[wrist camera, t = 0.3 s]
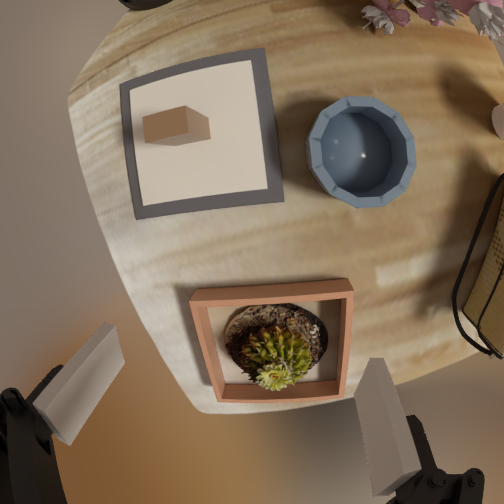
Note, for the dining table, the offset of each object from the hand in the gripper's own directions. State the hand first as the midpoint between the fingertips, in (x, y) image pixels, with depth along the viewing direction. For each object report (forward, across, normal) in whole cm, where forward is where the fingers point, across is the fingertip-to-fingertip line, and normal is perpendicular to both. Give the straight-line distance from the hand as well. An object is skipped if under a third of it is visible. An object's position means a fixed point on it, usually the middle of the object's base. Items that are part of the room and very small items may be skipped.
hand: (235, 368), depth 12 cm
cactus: (+27, +3, -19) cm, 33 cm away
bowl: (+27, +11, +12) cm, 31 cm away
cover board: (+26, -11, +13) cm, 31 cm away
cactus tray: (+26, +3, -19) cm, 33 cm away
